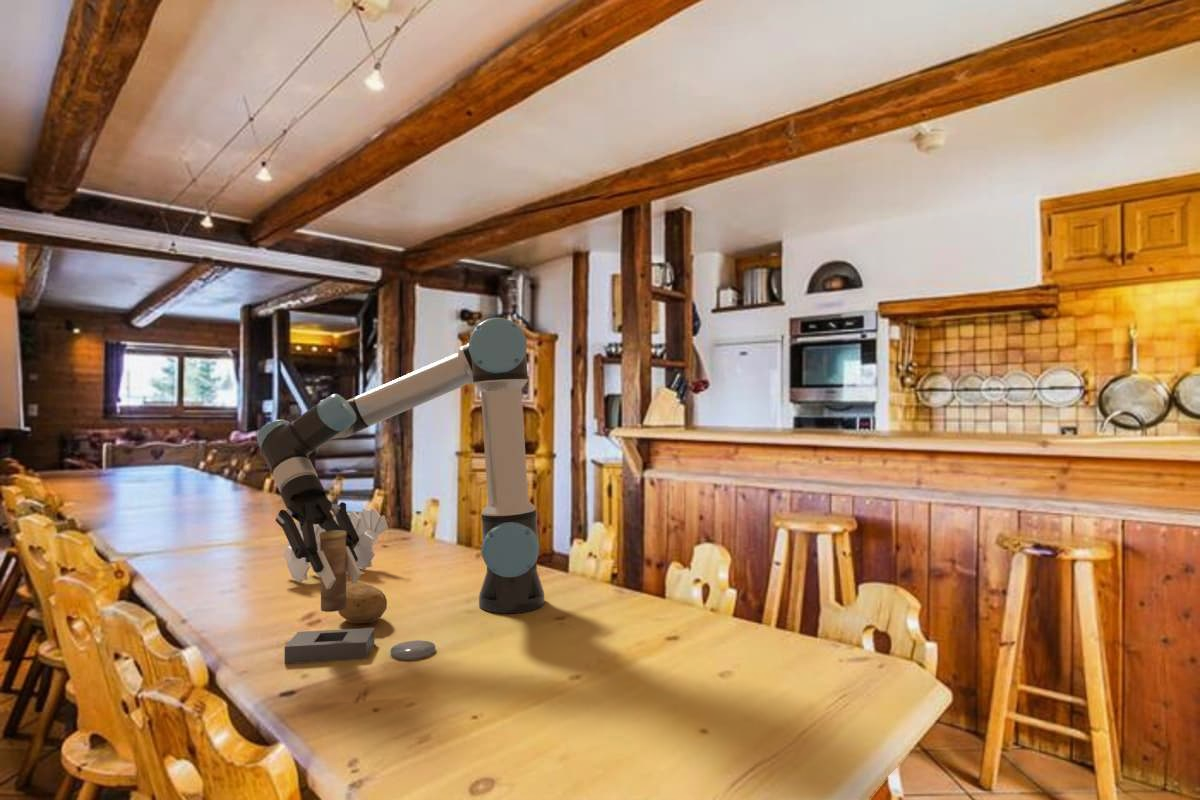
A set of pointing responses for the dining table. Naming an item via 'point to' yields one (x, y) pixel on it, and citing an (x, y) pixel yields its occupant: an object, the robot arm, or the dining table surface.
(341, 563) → the plug
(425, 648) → the coaster
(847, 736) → the dining table surface
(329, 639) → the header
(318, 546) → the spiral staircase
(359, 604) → the potato
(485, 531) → the robot arm
